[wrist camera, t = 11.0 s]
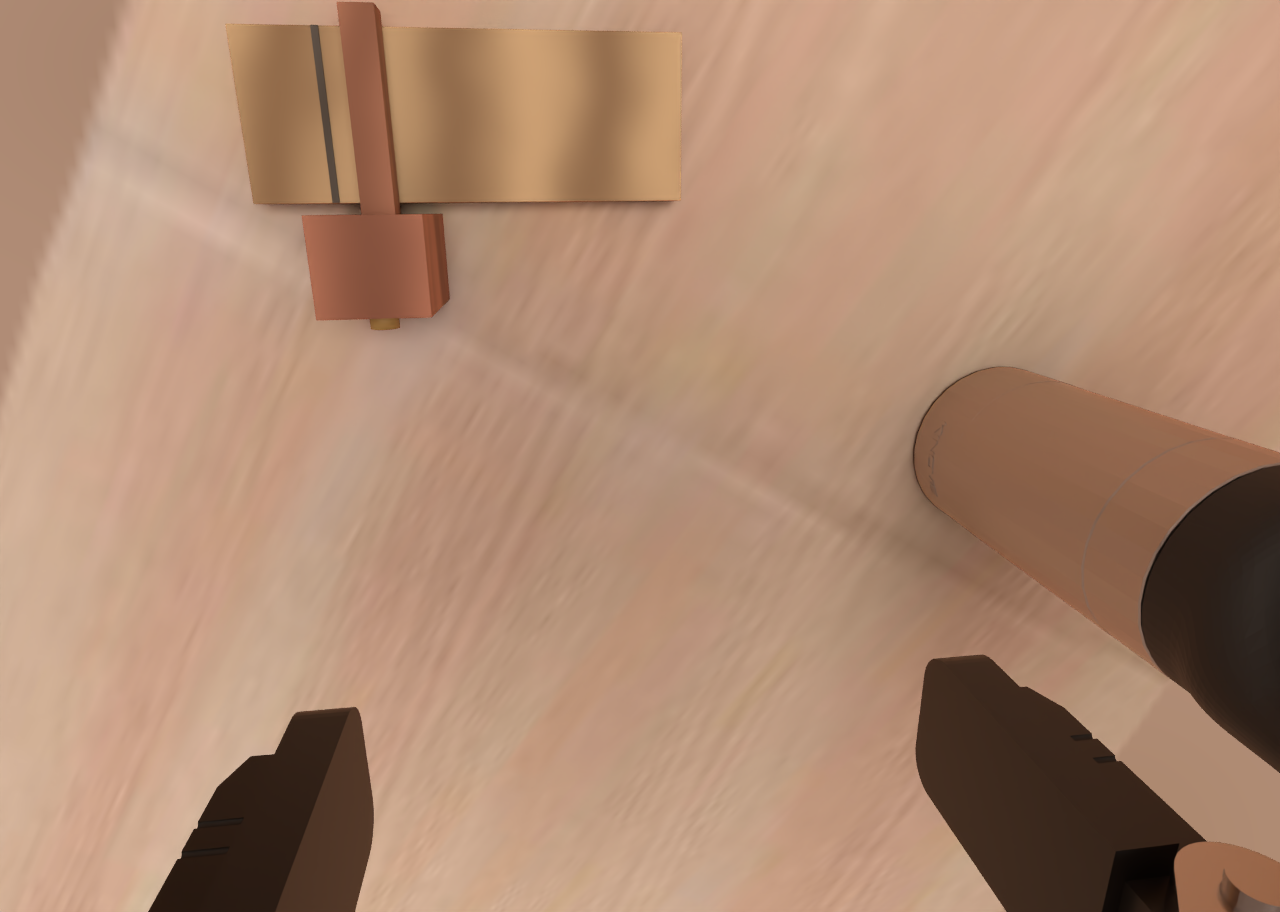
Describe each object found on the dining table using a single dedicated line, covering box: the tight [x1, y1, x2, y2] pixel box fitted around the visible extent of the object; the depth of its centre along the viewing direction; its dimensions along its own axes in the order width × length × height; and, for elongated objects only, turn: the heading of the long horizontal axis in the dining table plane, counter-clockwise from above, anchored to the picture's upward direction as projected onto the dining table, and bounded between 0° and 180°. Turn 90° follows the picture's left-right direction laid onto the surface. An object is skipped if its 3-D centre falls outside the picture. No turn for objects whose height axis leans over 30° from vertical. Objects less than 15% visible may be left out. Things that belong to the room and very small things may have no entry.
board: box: [225, 24, 682, 204], centre depth 34 cm, size 19×7×2 cm, turn 90°
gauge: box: [302, 2, 450, 330], centre depth 32 cm, size 4×13×7 cm, turn 0°
